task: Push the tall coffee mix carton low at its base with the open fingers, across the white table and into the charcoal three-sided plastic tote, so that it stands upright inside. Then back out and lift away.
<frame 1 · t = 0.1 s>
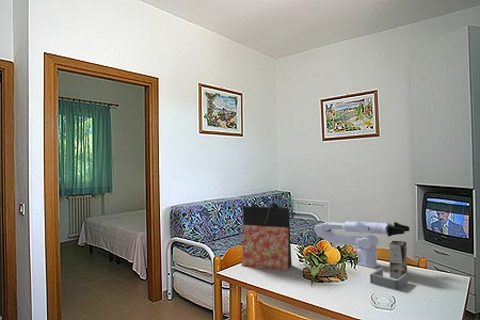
hand: (406, 230, 154), 22 cm above the table, tool horizontal, fingers open, 7 cm apart
tote: (389, 282, 142), on the table
coffee box: (398, 276, 151), on the table
gift bag: (269, 266, 168), on the table
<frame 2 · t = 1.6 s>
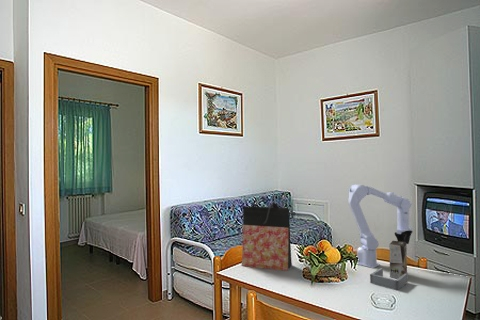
hand: (403, 245, 168), 10 cm above the table, tool pointing down, fingers open, 7 cm apart
nothing on the table moved.
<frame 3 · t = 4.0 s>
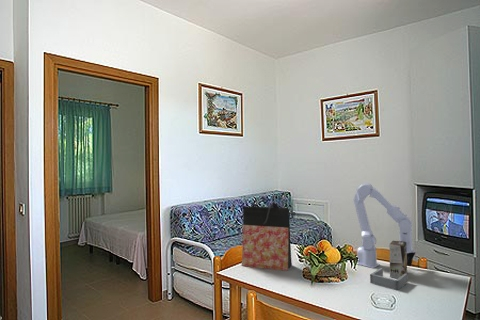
hand: (406, 267, 158), 1 cm above the table, tool pointing down, fingers open, 7 cm apart
coffee box: (398, 276, 151), on the table, touching gripper
everything else where it was.
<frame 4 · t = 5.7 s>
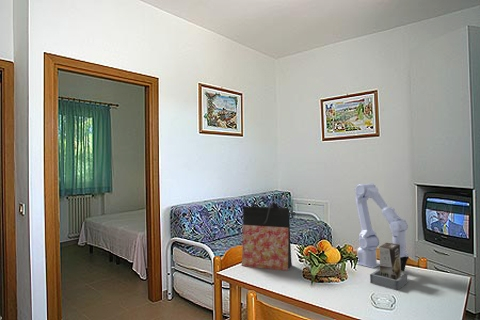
hand: (399, 272, 152), 1 cm above the table, tool pointing down, fingers open, 6 cm apart
coffee box: (391, 279, 146), on the table, touching gripper
everything else where it was.
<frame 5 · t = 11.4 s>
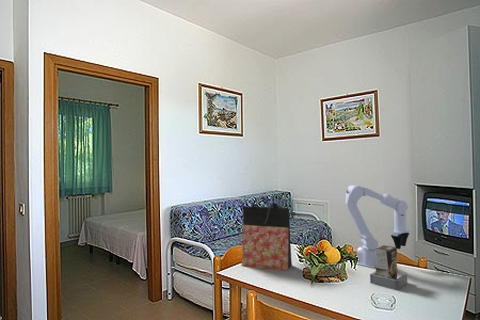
hand: (400, 247, 167), 9 cm above the table, tool pointing down, fingers open, 7 cm apart
coffee box: (387, 283, 142), on the table
everything else where it was.
at the end: coffee box 0.9 cm off-centre on the tote, point 0.0 cm above the tote's base; coffee box tilted 0°; coffee box moved 12.7 cm from its start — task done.
